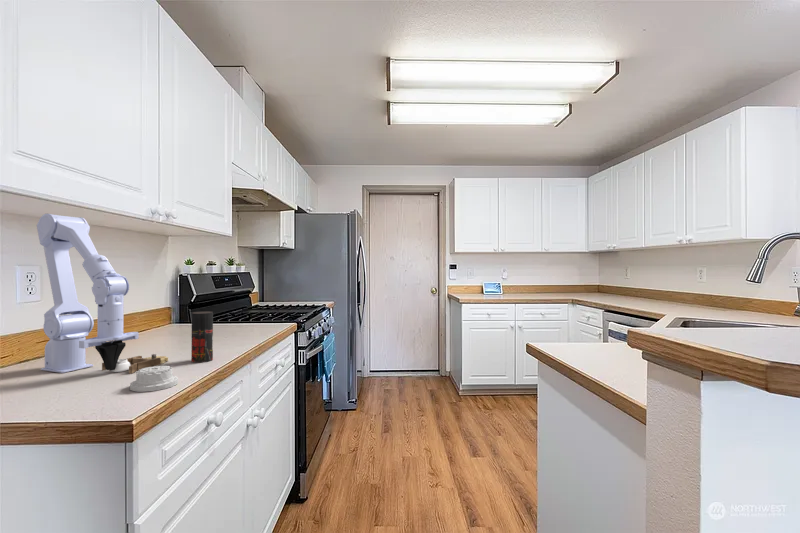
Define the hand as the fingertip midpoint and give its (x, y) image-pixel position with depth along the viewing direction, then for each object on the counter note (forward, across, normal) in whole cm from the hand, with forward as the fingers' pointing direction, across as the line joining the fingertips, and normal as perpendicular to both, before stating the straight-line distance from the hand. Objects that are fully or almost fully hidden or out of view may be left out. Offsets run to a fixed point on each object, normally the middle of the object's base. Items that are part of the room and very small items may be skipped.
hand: (110, 369), depth 105 cm
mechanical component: (+2, -4, -22) cm, 22 cm away
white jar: (+1, +3, 0) cm, 3 cm away
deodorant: (+1, +20, -12) cm, 23 cm away
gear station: (+1, +9, 0) cm, 9 cm away
